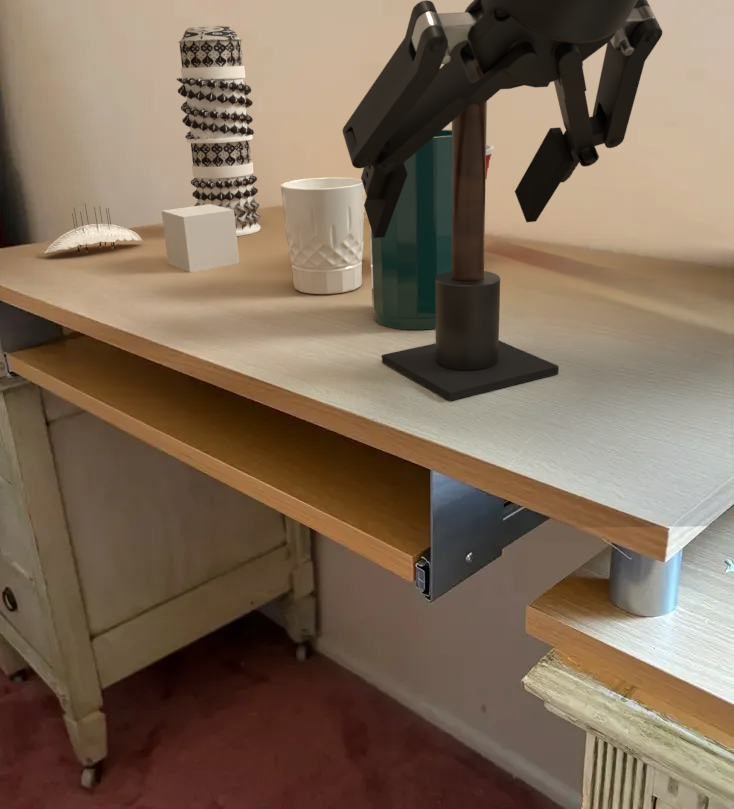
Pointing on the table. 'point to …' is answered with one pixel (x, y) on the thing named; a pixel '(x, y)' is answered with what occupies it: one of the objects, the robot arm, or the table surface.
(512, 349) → the mat
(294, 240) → the white cup
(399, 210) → the tumbler
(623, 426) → the table surface
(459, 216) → the bottle brush
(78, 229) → the pincushion
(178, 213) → the off-white cube
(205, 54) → the bracelet display stand
